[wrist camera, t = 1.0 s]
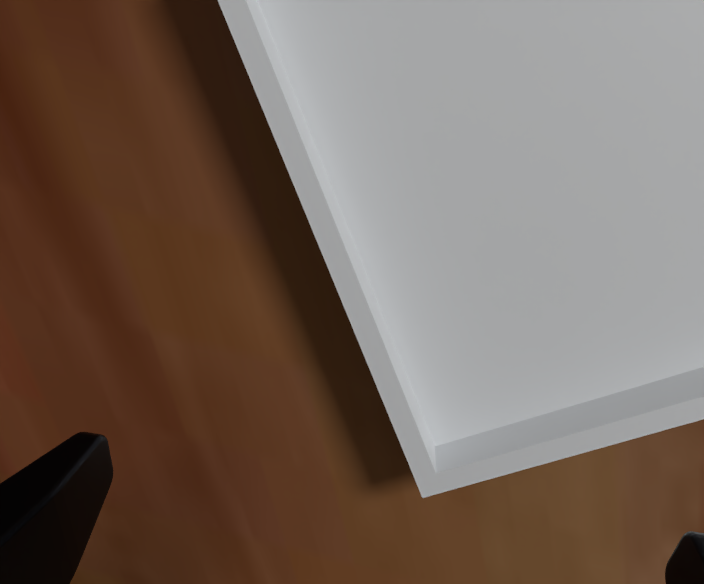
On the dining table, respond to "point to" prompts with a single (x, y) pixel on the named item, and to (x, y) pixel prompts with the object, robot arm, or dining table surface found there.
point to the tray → (501, 211)
